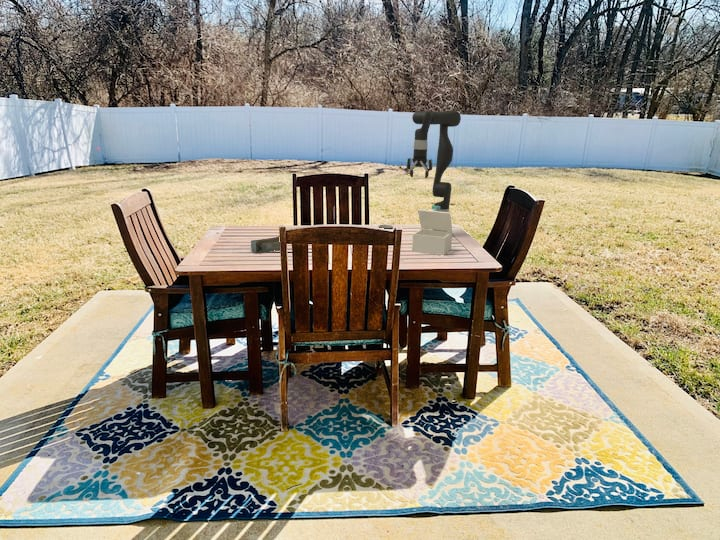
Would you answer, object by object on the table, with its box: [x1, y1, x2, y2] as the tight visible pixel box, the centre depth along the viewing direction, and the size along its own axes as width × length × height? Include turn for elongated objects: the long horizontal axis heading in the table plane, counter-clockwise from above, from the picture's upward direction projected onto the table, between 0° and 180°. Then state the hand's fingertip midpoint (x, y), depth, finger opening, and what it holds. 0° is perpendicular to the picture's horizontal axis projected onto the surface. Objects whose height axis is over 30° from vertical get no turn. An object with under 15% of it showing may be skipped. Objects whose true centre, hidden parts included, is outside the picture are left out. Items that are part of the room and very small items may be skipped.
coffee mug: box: [377, 224, 394, 230], centre depth 292 cm, size 12×9×10 cm
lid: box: [417, 205, 453, 233], centre depth 280 cm, size 15×18×6 cm
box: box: [411, 228, 453, 256], centre depth 279 cm, size 15×18×10 cm
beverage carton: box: [250, 235, 281, 255], centre depth 275 cm, size 8×19×7 cm, turn 123°
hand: (418, 177), depth 287 cm, fingers open, 8 cm apart
